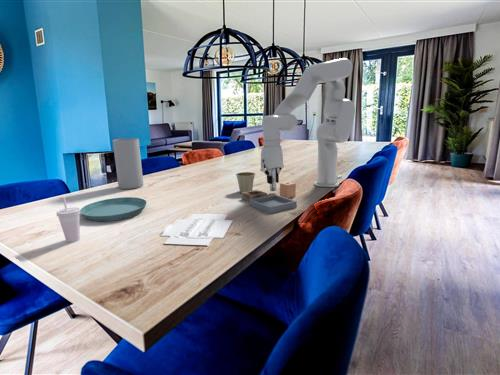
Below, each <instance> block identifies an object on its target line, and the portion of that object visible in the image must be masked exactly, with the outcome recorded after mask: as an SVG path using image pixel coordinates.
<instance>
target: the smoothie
mask: <svg viewBox="0 0 500 375" xmlns="http://www.w3.org/2000/svg"><path fill="white" fill-rule="evenodd" d="M62 199H63V205H64V208H62V209H59V210H57V211H56V216H57V218H58V220H59V221H58V222H59V223H60V226H61V228H62V233H63V235H64V238H65V241H66V242H65V243H76V242H77V241H80V239H81V234H80V230H81V229H80V214H81V213H80V210H81V208H79V207H68V205H67V200H66V196H63V197H62Z"/></svg>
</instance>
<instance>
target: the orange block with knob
mask: <svg viewBox="0 0 500 375" xmlns="http://www.w3.org/2000/svg"><path fill="white" fill-rule="evenodd" d="M296 186H297V184H296V183H295V182H293V181H285V182H279V196H282V197H285V198H288V199H291V198H294V197H296V194H297V192H296Z"/></svg>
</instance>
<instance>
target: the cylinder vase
mask: <svg viewBox="0 0 500 375" xmlns="http://www.w3.org/2000/svg"><path fill="white" fill-rule="evenodd" d="M112 148H113V153H114V154H113V155H114V161H115V162H114V163H115V170H116V178H117V185H118V188H119V189H120V190H121V189H122V190H135V189H139V188H142V187H143V186H144V179H143V177H144V176H143V168H142V156H141V150H140V139H139V138H136V137H135V138H132V137H131V138H117V139H116V138H115V139H113V140H112Z"/></svg>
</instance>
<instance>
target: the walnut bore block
mask: <svg viewBox="0 0 500 375" xmlns="http://www.w3.org/2000/svg"><path fill="white" fill-rule="evenodd" d="M265 196H268V193H267V192H265V191H262V190H258V189H253V190H252V191H247V192H241V200H243V201H246V202H249V203H250V200H251V199H256V198H261V197H265Z"/></svg>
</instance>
